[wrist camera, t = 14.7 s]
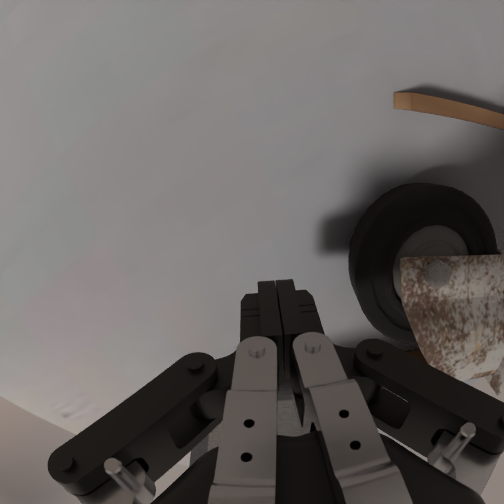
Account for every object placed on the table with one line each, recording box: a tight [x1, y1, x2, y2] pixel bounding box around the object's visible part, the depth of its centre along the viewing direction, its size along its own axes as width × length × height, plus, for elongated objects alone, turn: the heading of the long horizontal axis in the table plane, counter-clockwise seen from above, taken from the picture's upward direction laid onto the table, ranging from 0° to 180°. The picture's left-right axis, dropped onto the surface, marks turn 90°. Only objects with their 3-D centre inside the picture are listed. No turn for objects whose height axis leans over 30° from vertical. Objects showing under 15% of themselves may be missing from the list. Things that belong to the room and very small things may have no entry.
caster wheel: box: [349, 183, 504, 395], centre depth 15 cm, size 7×11×10 cm
